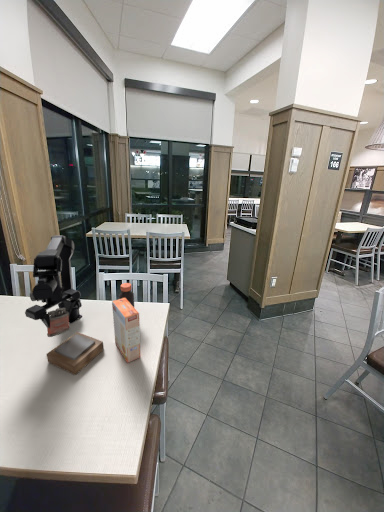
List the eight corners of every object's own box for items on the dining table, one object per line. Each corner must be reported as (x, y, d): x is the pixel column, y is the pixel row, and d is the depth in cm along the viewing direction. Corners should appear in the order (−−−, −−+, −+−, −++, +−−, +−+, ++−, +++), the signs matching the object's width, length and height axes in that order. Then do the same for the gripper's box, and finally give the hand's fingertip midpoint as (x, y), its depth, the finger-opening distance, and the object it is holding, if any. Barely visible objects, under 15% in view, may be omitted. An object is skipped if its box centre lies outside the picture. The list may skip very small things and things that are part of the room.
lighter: (67, 326, 93) (66, 304, 90) (71, 329, 91) (70, 307, 88) (45, 334, 87) (43, 311, 84) (49, 338, 85) (47, 314, 82)
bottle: (136, 317, 114) (134, 282, 108) (133, 325, 108) (131, 288, 101) (123, 316, 114) (120, 281, 107) (119, 325, 108) (116, 288, 101)
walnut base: (78, 339, 97) (77, 330, 95) (103, 349, 92) (102, 339, 91) (48, 362, 85) (45, 351, 83) (75, 375, 80) (73, 364, 78)
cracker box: (141, 357, 89) (139, 312, 82) (127, 363, 86) (124, 317, 79) (128, 337, 100) (125, 296, 93) (114, 342, 96) (111, 300, 89)
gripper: (60, 273, 94) (65, 305, 99) (11, 291, 78) (20, 329, 83) (79, 278, 90) (83, 312, 95) (31, 299, 74) (40, 338, 78)
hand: (58, 321), depth 88 cm, fingers closed on lighter, 8 cm apart
